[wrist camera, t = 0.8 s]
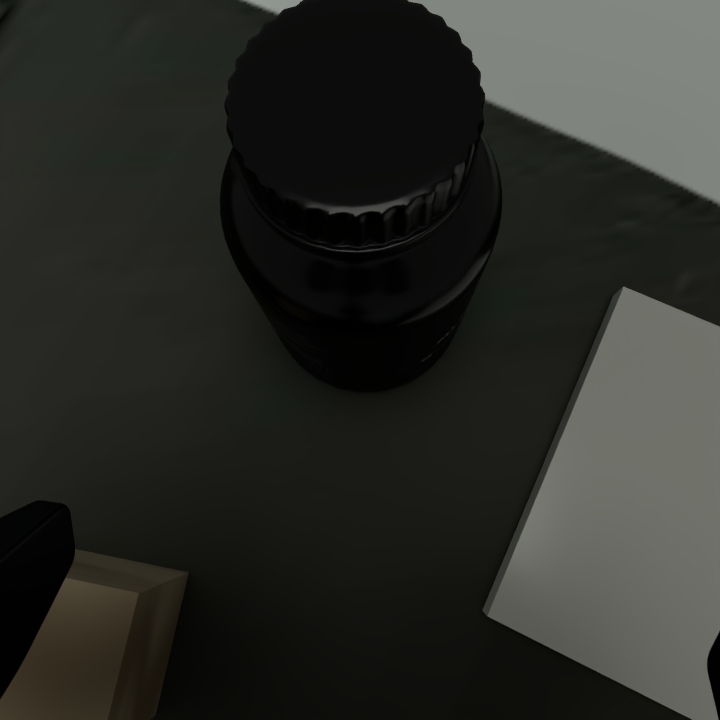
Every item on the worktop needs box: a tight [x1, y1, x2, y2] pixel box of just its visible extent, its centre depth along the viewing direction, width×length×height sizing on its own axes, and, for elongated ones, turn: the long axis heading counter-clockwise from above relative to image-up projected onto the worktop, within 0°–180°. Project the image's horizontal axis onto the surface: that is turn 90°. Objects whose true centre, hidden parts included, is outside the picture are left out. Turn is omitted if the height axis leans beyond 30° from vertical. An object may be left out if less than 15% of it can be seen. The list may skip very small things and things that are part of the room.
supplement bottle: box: [220, 0, 502, 391], centre depth 17 cm, size 7×7×12 cm
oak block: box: [0, 549, 189, 720], centre depth 19 cm, size 4×4×4 cm
